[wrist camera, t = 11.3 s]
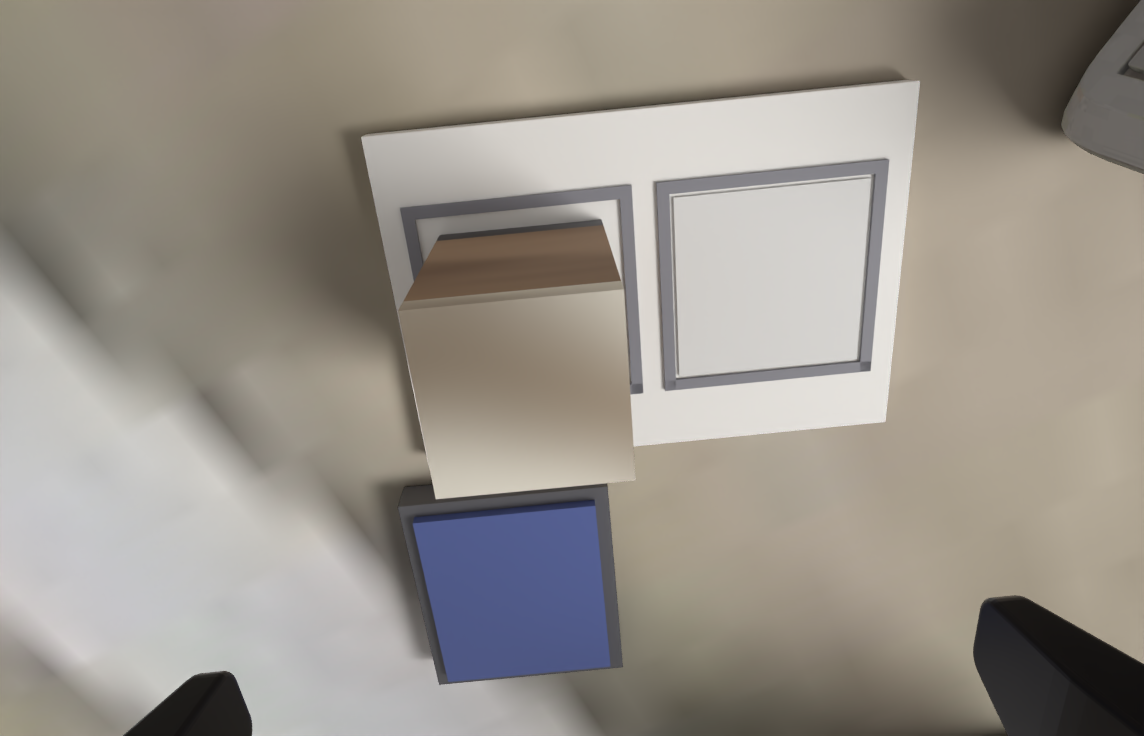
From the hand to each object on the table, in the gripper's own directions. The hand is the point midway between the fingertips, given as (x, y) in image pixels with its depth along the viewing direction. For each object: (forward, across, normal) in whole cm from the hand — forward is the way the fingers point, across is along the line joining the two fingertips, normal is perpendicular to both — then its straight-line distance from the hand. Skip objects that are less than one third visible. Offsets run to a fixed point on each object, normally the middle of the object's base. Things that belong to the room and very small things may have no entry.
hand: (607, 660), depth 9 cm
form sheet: (+12, -2, -1) cm, 12 cm away
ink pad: (+12, +3, +8) cm, 15 cm away
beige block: (+11, +1, -1) cm, 11 cm away
